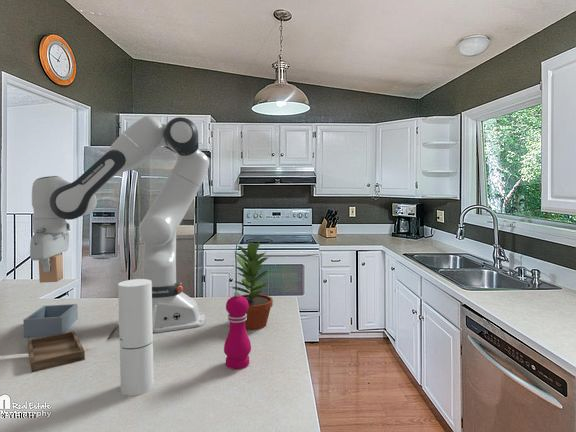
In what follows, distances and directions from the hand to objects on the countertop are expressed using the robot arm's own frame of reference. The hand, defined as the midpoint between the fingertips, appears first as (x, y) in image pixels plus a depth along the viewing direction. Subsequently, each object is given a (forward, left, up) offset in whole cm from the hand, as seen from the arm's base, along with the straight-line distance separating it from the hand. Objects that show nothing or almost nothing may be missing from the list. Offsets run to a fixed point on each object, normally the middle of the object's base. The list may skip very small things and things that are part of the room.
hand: (51, 269), depth 119 cm
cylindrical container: (-33, +42, -21) cm, 57 cm away
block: (0, 0, -4) cm, 4 cm away
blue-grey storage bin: (+1, -2, -21) cm, 21 cm away
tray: (-7, +18, -21) cm, 28 cm away
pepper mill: (-57, +35, -21) cm, 70 cm away
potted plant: (-64, +6, -21) cm, 68 cm away
